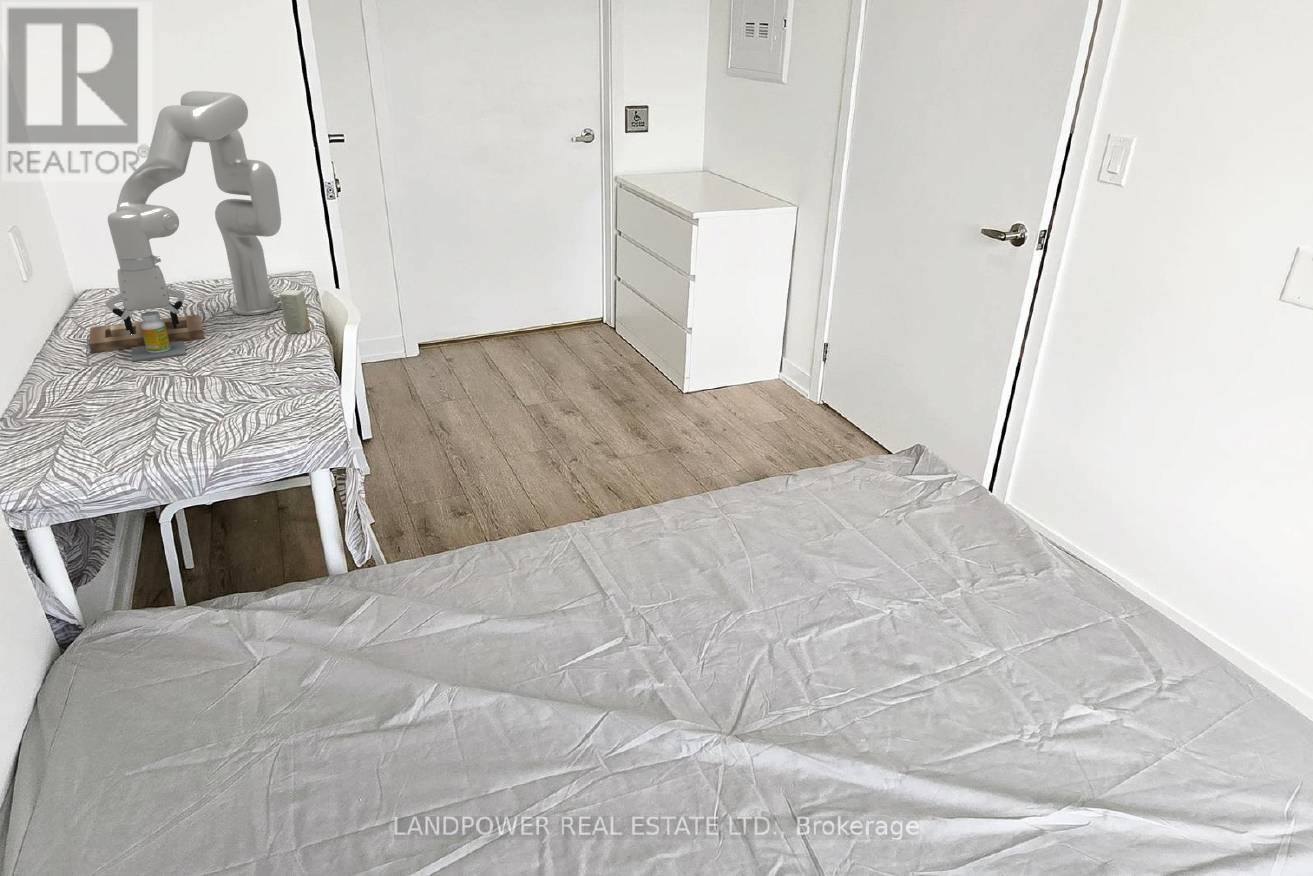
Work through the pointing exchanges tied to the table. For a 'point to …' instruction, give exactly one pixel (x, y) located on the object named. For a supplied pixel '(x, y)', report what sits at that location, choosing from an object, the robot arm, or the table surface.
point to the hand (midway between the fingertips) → (153, 329)
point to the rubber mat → (143, 354)
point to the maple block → (119, 330)
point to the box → (294, 311)
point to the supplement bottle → (154, 333)
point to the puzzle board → (105, 342)
